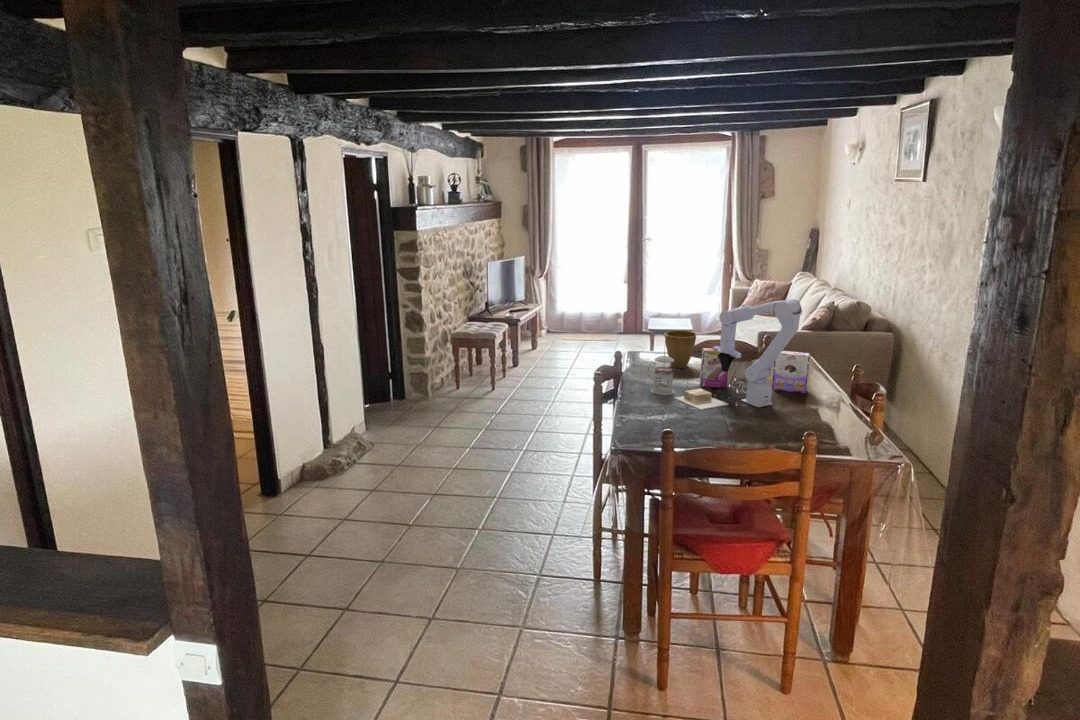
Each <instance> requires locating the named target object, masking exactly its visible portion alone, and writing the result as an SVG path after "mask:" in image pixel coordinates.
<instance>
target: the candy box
mask: <svg viewBox="0 0 1080 720" xmlns="http://www.w3.org/2000/svg"><path fill="white" fill-rule="evenodd" d="M810 361H811V353H809V352H801V351H789V350H782V352H781V353H780V354H779V356H778V357H777V358H776V360H775V361H774V362H773V374H772V383H771V384H772V386H771V388H772V391H773V390H774V391H783V392H791V393H800V394H801V393H802V394H806V393H807V390H808V389H807V388H808V381H809V372H810Z"/></svg>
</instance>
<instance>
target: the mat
mask: <svg viewBox="0 0 1080 720" xmlns="http://www.w3.org/2000/svg"><path fill="white" fill-rule="evenodd" d="M674 399H675V400H677V401H679V402H681V403H684V404H686V405H688V406H690V407H693V408H695V409H697V410H700V411H703V410H708V409H713V408H714V409H715V408H719V407H725V406H729V403H727V402H725V401H722V400H719V399H717V398H715V397H712V396H711V400H709V401H703V402H697V403H695V402H692V401H690V400H688V399H685V398H684V395H682V396H677V397H674Z"/></svg>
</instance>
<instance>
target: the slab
mask: <svg viewBox="0 0 1080 720" xmlns="http://www.w3.org/2000/svg"><path fill="white" fill-rule="evenodd" d="M683 396H684V398H685V399H688V400H690V401H692V402H695V403H697V402H703V401H709V400H711V397H712V392H711V391H708V390H705V389H703V388H695V389H694V388H693V389H688V390H684V394H683Z"/></svg>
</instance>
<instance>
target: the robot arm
mask: <svg viewBox="0 0 1080 720" xmlns="http://www.w3.org/2000/svg"><path fill="white" fill-rule="evenodd" d="M765 313H770V314H771V315H775V317H776V318H777V319H778V322H779V323H780V325H781V328H780V330H779V331H778V333H776V335H775V337H774V338H773V339H772V340H771V342H770V343H769V345H768V346H767V347H766V349H765V350H764V351H763V353H762V354H761V355H760V357H759V358H758V359H757V360H755V361H754V362H753V363H752V364H751V366H748V367H747V368H746V369H745V370H744V376H745V379H746V380H747V382H746V394H745V398H743V399H740V402H742V403H745V402H746V403H745V404H747V405H750V406H753V407H756V408H762V407H768V406H772V405H773V403H772V398H773V397H772V395H773V390H772V386H771V385H769V384H768V381H767V380H768V378H769V377H770V376H771V373H772V369H773V368H774V361H775V360H776V358H777V357H778V356H779V354H780V353H781V352H782V351H784V349H785V348H786V346H787V345H788V344H789V343H790V341H791V340H792V339H793V338H794V336H795V334H796V333H797V332H798V330H799V328H800V320H801V315H802V314H803V308H802V304H801V302H800V301H799V300H797V299H793V298H791V299H788V300H787V299H785V300H776V301H771V302H767V303H763V304H759V305H757V306H751V305H750V304H746V303H745V304H742V305H741V306H739V307H731V309H726V310H724V311H722V312H721V313H720V314H719V317H718V318H719V322H720V323H721V328H720V329H721V331H720V341H719V345H714V346H712V349H713V351H717V352H720V354H718V358H719V360H720V362H721V367H722V371H723V372H728V373H729V370H730V366H731V365H732V363H733V361H734V360H735V359H740V358H742V353H741V352H739V351H737V349H735V343H736V331H737V325H738V323H740V322H745V321H749V320H753V318H754V317H755V315H760V314H765Z"/></svg>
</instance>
